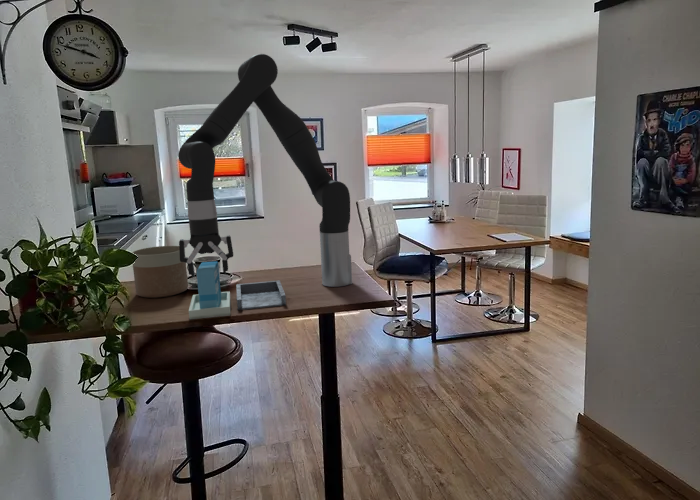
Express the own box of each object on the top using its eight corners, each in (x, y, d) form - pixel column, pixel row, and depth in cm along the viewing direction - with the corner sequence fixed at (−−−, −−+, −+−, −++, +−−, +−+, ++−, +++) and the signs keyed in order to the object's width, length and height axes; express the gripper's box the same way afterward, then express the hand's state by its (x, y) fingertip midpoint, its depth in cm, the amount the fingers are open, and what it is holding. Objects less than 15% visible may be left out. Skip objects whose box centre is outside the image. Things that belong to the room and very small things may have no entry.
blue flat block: (217, 312, 142) (213, 269, 140) (200, 313, 142) (196, 270, 139) (221, 300, 154) (218, 260, 152) (205, 301, 153) (202, 261, 151)
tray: (230, 299, 157) (229, 291, 156) (230, 315, 141) (229, 306, 140) (193, 302, 155) (192, 294, 154) (189, 319, 139) (188, 310, 138)
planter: (187, 283, 179) (183, 244, 176) (190, 294, 164) (185, 251, 161) (137, 289, 173) (132, 248, 171) (135, 301, 159) (130, 257, 156)
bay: (280, 289, 166) (279, 280, 165) (286, 305, 148) (285, 295, 148) (237, 293, 163) (236, 284, 162) (237, 310, 145) (236, 299, 145)
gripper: (229, 213, 148) (234, 269, 151) (176, 217, 145) (183, 274, 148) (229, 216, 141) (235, 274, 144) (174, 220, 138) (181, 280, 141)
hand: (208, 274), depth 146 cm, fingers open, 8 cm apart
